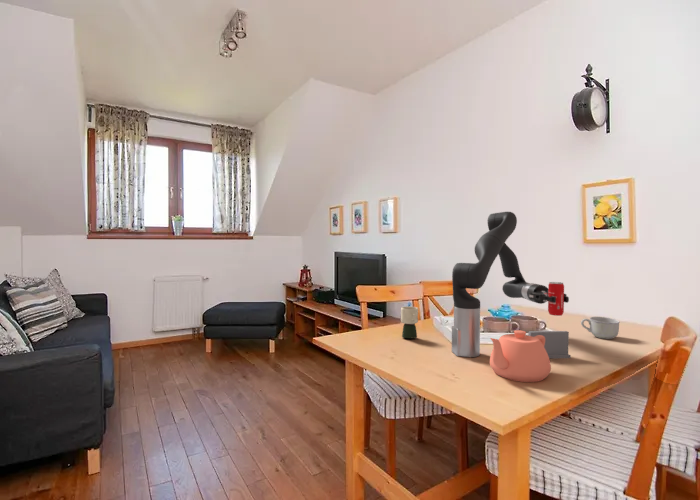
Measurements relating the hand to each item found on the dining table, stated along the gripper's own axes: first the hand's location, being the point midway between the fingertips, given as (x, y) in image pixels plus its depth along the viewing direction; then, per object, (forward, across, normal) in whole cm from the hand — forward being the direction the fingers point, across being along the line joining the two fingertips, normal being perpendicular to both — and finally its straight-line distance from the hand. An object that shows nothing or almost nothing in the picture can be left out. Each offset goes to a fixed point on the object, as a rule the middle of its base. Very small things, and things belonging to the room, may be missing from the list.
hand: (561, 299), depth 139 cm
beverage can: (-3, 0, +6) cm, 7 cm away
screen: (+4, -7, +20) cm, 22 cm away
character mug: (-24, -51, +20) cm, 60 cm away
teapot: (+21, -28, +20) cm, 40 cm away
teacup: (-21, +32, +20) cm, 43 cm away
